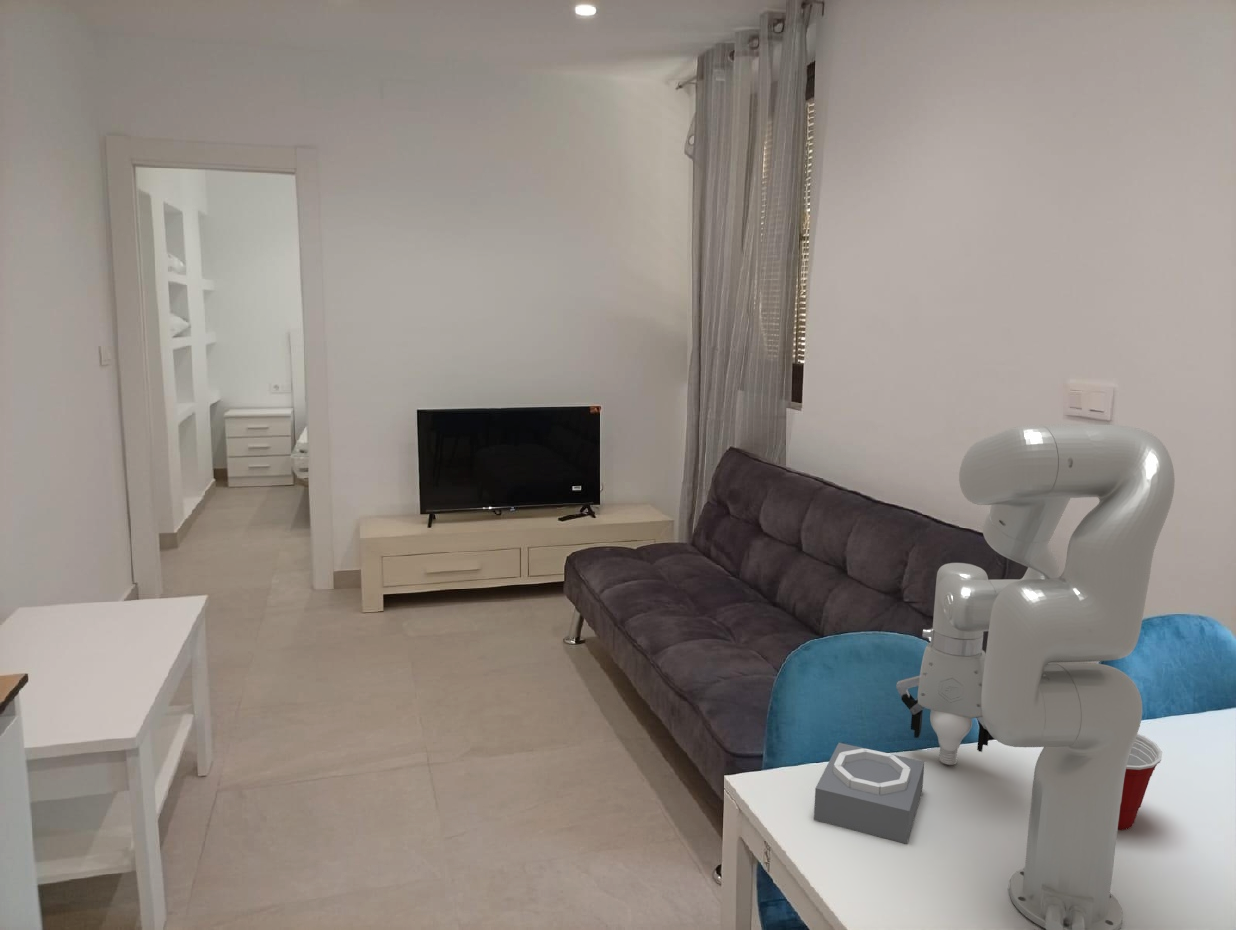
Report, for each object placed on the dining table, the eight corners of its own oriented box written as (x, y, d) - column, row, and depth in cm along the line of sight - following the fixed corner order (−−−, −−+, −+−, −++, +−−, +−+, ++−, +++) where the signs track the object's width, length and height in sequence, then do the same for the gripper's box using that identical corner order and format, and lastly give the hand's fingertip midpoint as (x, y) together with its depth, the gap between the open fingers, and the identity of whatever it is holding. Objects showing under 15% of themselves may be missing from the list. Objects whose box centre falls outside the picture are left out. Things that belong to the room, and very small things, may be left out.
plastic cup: (1057, 819, 129) (1065, 742, 127) (1082, 790, 137) (1090, 718, 135) (1140, 851, 122) (1150, 771, 120) (1162, 819, 129) (1172, 743, 127)
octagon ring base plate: (906, 843, 123) (909, 803, 122) (813, 819, 129) (815, 780, 128) (924, 782, 139) (927, 745, 138) (841, 762, 145) (843, 727, 144)
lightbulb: (966, 757, 147) (971, 694, 145) (970, 776, 141) (975, 711, 139) (925, 751, 148) (930, 690, 146) (928, 770, 142) (932, 706, 140)
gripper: (896, 640, 141) (889, 739, 145) (1015, 660, 134) (1004, 764, 137) (904, 624, 148) (897, 719, 151) (1017, 643, 140) (1007, 742, 144)
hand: (948, 740), depth 144 cm, fingers open, 9 cm apart
